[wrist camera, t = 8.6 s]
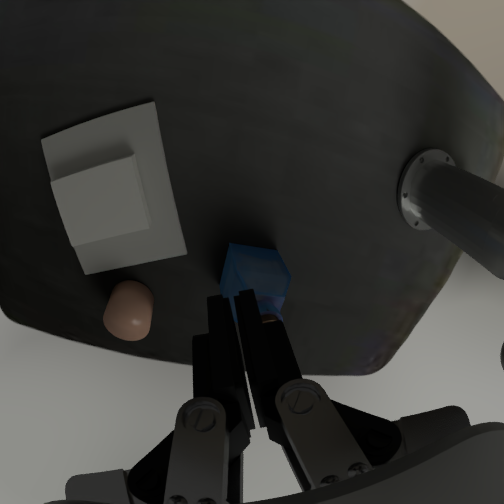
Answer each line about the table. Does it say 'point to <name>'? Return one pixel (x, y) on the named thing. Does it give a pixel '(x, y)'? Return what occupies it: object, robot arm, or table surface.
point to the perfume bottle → (256, 278)
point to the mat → (151, 173)
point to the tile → (102, 201)
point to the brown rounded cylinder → (129, 310)
